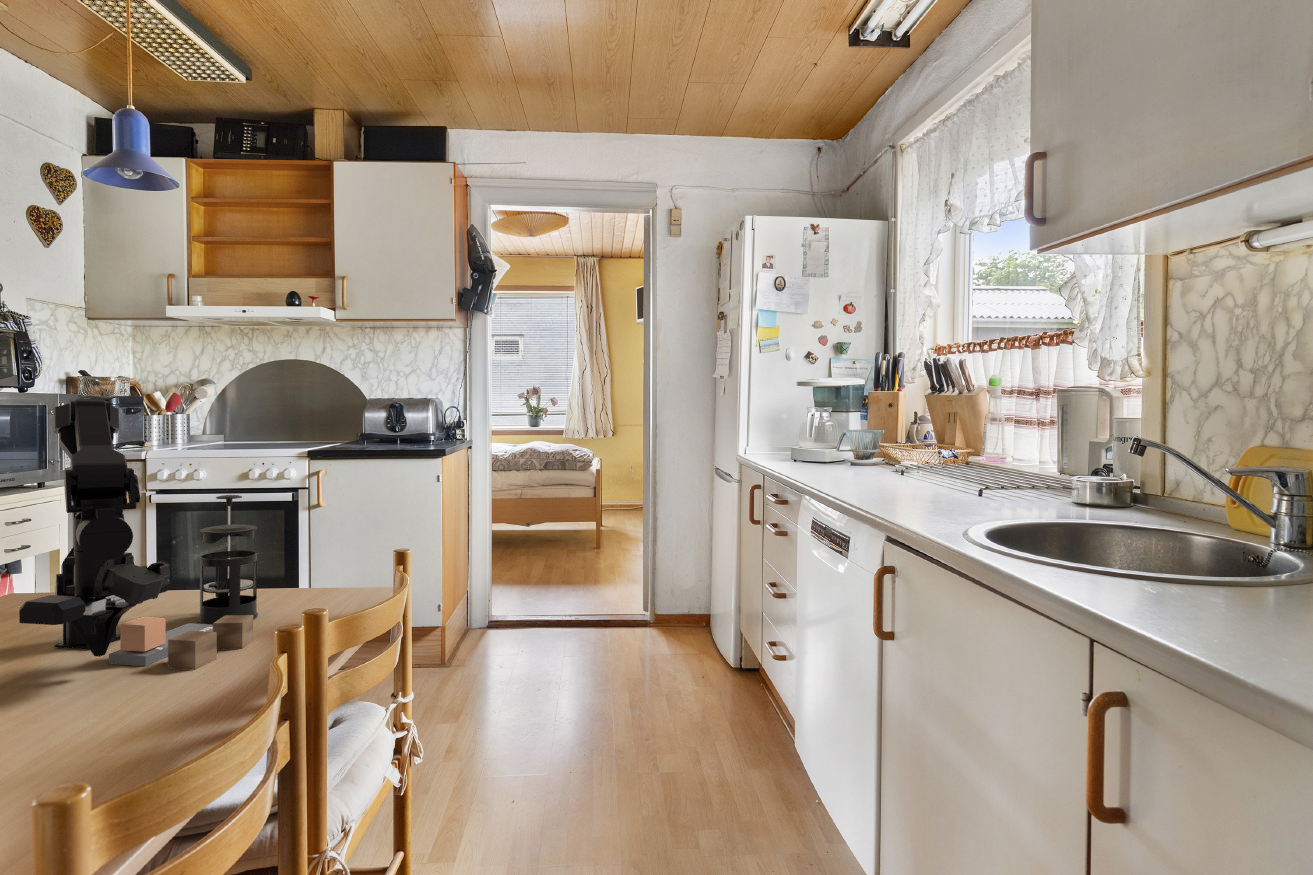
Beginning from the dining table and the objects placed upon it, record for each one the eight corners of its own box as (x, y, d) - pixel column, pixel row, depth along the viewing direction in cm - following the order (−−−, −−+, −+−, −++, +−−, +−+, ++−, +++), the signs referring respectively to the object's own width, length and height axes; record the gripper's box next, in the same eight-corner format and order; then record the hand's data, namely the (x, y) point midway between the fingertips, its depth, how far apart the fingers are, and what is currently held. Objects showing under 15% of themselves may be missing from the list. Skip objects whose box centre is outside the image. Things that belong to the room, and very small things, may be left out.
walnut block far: (212, 650, 114) (212, 623, 114) (224, 641, 119) (224, 615, 119) (242, 649, 115) (242, 622, 115) (253, 640, 119) (253, 614, 119)
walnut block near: (168, 668, 106) (168, 639, 106) (190, 658, 110) (190, 630, 110) (195, 670, 106) (195, 641, 105) (216, 660, 110) (216, 632, 110)
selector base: (108, 663, 107) (108, 652, 107) (188, 631, 123) (188, 621, 123) (145, 665, 107) (145, 654, 106) (220, 633, 122) (220, 623, 122)
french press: (265, 620, 130) (265, 496, 130) (205, 630, 124) (205, 499, 123) (248, 607, 139) (248, 490, 138) (191, 615, 132) (192, 493, 132)
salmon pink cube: (120, 650, 108) (120, 624, 108) (141, 641, 112) (141, 616, 112) (144, 651, 108) (144, 625, 107) (165, 643, 112) (165, 617, 111)
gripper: (93, 563, 92) (93, 683, 92) (199, 539, 110) (199, 638, 111) (15, 560, 93) (15, 678, 93) (133, 536, 111) (133, 634, 112)
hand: (99, 655), depth 102 cm, fingers closed
